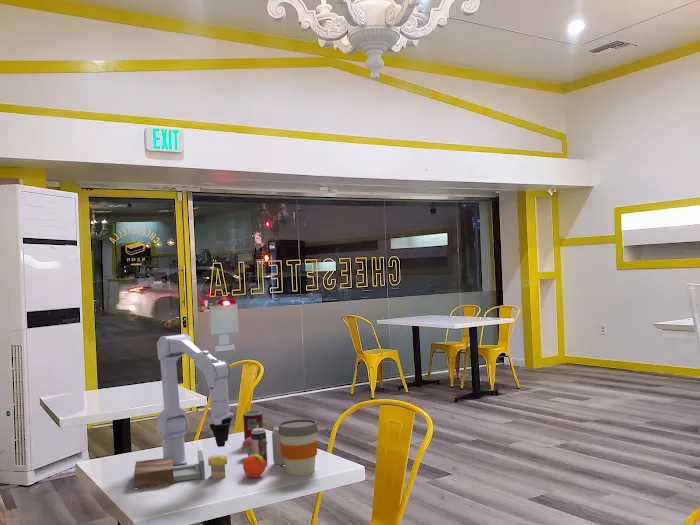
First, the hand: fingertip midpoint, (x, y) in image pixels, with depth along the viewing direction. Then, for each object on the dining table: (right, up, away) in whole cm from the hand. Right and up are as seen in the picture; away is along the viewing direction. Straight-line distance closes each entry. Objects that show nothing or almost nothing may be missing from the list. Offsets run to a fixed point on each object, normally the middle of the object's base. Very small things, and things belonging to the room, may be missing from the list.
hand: (222, 443), depth 208 cm
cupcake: (+7, -10, +20) cm, 24 cm away
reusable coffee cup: (+24, -9, 0) cm, 26 cm away
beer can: (+11, -10, +9) cm, 17 cm away
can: (+19, -10, +10) cm, 23 cm away
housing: (-21, -11, 0) cm, 24 cm away
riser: (-1, -10, -1) cm, 10 cm away
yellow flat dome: (-1, -6, -1) cm, 6 cm away
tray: (-12, -11, +2) cm, 17 cm away
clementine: (+11, -10, -3) cm, 15 cm away
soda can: (+4, -11, +38) cm, 40 cm away
